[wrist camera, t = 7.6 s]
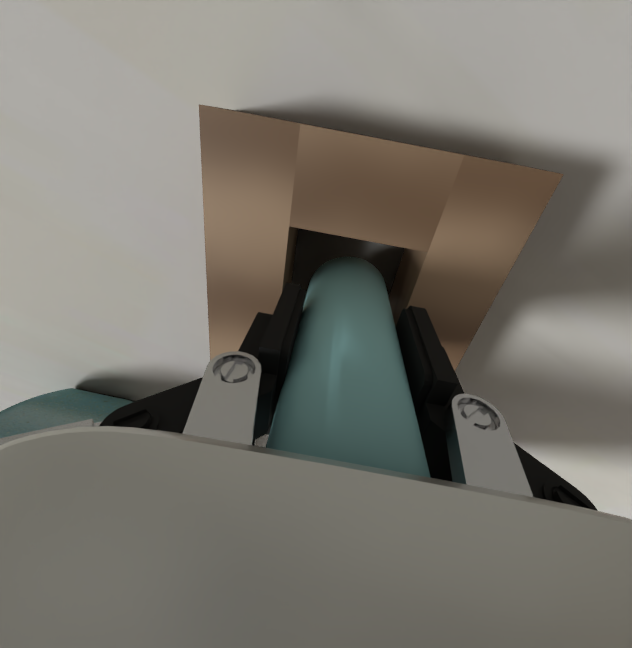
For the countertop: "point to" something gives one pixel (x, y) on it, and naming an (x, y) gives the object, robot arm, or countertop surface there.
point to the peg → (348, 376)
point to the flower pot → (57, 411)
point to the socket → (358, 218)
